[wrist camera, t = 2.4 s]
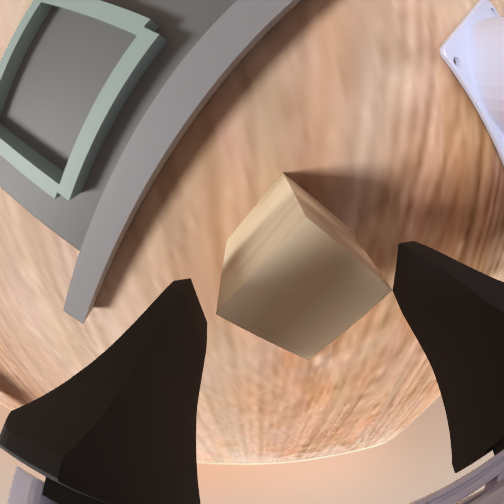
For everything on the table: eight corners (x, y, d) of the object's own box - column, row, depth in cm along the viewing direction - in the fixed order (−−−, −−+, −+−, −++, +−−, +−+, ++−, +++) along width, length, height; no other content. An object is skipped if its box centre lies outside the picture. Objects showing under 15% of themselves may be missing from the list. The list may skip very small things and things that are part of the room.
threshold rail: (331, -24, 6) (341, -38, 5) (92, 307, 15) (83, 323, 13) (303, -41, 6) (309, -56, 4) (74, 295, 14) (63, 310, 13)
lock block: (346, 226, 12) (391, 290, 8) (291, 282, 14) (307, 359, 9) (282, 172, 11) (305, 216, 7) (226, 240, 13) (216, 314, 8)
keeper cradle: (241, 3, 7) (239, -11, 6) (85, 248, 13) (71, 263, 11) (78, -46, 4) (65, -54, 2) (-22, 159, 9) (-37, 166, 8)
